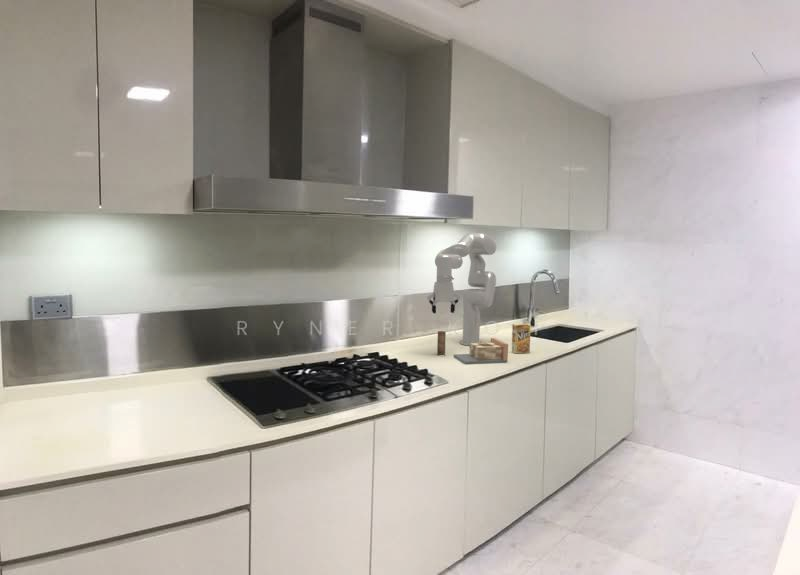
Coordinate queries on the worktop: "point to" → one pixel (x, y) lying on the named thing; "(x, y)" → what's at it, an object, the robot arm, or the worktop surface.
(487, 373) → the worktop surface
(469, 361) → the rail board
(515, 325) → the candy box
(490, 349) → the socket block
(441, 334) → the dowel
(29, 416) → the worktop surface
